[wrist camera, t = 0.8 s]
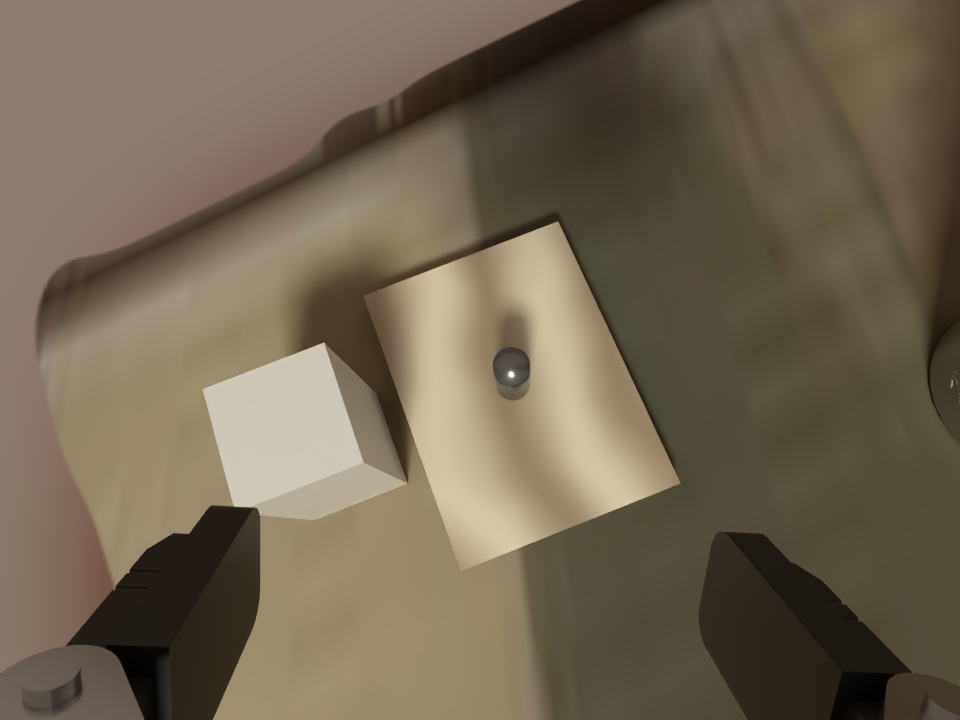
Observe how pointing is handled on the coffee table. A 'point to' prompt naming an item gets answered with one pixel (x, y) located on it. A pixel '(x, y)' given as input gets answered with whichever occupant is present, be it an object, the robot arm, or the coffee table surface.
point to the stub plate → (531, 436)
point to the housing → (302, 437)
